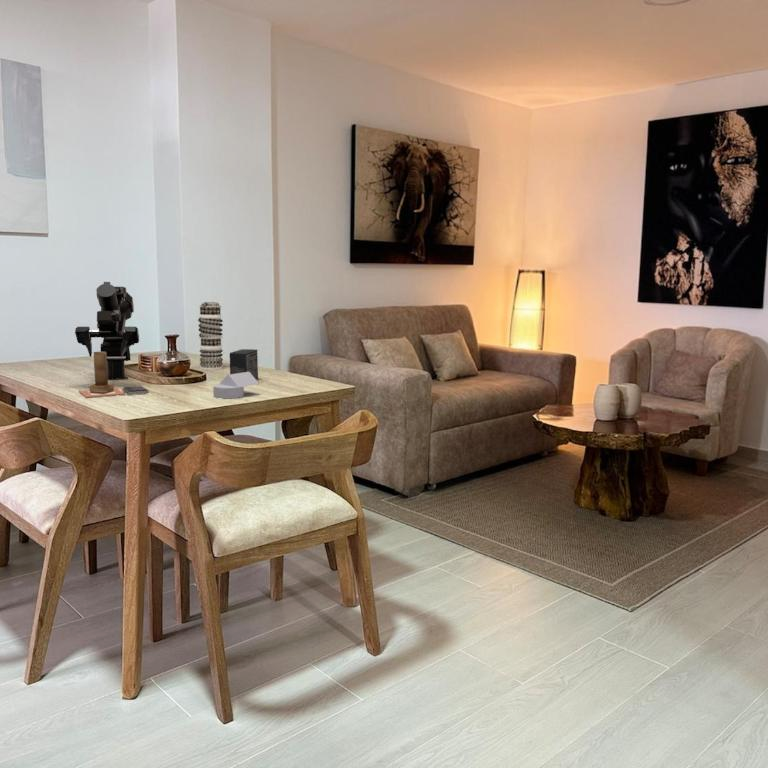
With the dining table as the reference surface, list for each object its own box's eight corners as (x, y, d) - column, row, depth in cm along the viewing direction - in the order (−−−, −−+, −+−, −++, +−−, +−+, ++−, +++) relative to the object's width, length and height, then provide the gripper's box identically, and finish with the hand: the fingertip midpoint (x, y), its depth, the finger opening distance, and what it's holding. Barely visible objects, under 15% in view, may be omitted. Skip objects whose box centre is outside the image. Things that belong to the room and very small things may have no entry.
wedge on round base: (239, 391, 232) (207, 396, 221) (239, 370, 231) (206, 374, 220) (259, 394, 226) (227, 400, 216) (259, 373, 225) (226, 378, 215)
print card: (79, 392, 224) (79, 390, 224) (116, 389, 230) (116, 388, 230) (86, 398, 215) (86, 396, 215) (124, 395, 221) (124, 393, 221)
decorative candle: (198, 370, 273) (197, 303, 268) (199, 366, 281) (197, 301, 277) (223, 369, 275) (222, 303, 270) (223, 366, 284) (222, 301, 279)
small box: (241, 378, 256) (240, 348, 255) (258, 379, 255) (258, 349, 253) (229, 382, 246) (228, 352, 244) (247, 383, 245) (246, 353, 243)
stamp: (100, 390, 226) (98, 350, 224) (114, 391, 224) (112, 351, 222) (89, 393, 221) (87, 352, 219) (103, 394, 220) (101, 353, 218)
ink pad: (122, 391, 227) (122, 387, 227) (142, 389, 230) (141, 385, 230) (128, 395, 221) (128, 391, 220) (148, 393, 224) (148, 389, 224)
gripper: (74, 301, 229) (69, 340, 220) (136, 301, 233) (134, 339, 224) (80, 323, 238) (75, 362, 229) (140, 323, 242) (137, 361, 233)
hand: (105, 355), depth 229 cm, fingers open, 9 cm apart
